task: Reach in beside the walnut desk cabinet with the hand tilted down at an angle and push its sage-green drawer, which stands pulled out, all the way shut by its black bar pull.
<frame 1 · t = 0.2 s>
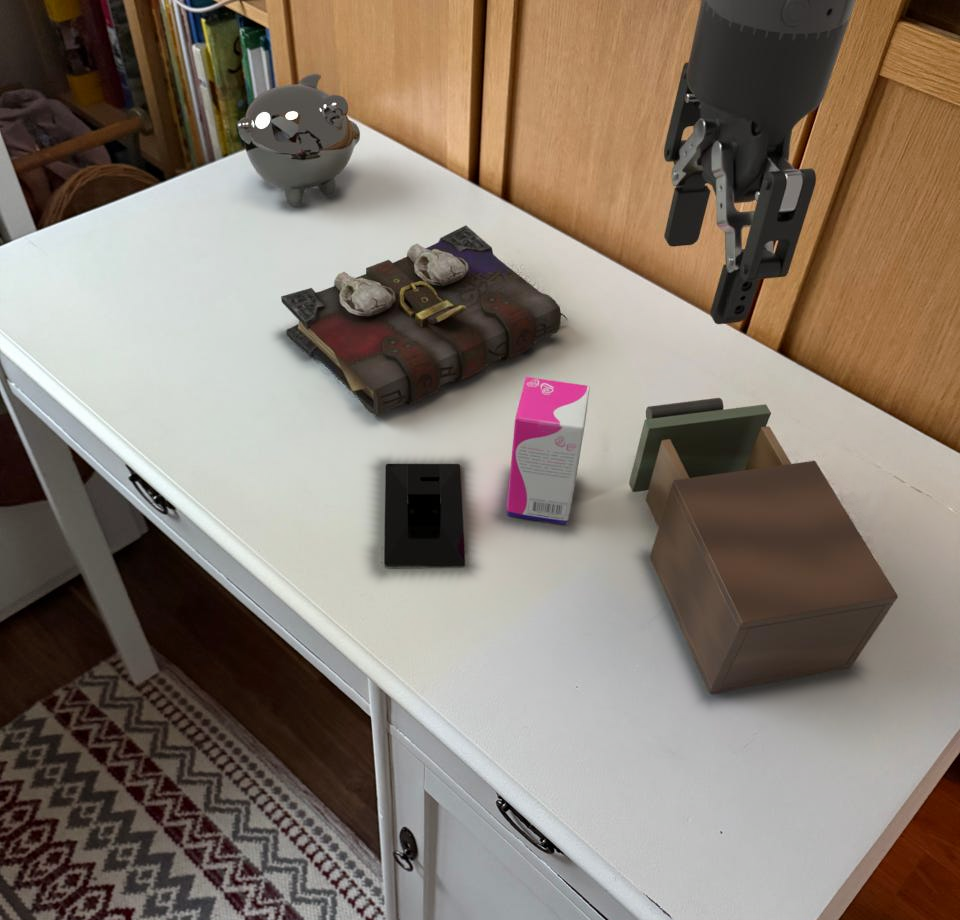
hand: (702, 279, 61), 28 cm above the table, tool pointing down, fingers open, 8 cm apart
drawer: (714, 480, 83), point 5 cm above the table, slide at 7.0 cm
black plastic holder: (423, 516, 85), on the table
book: (424, 338, 100), on the table
cabinet: (746, 610, 80), on the table
piggy bank: (305, 189, 116), on the table
supplement box: (540, 499, 87), on the table
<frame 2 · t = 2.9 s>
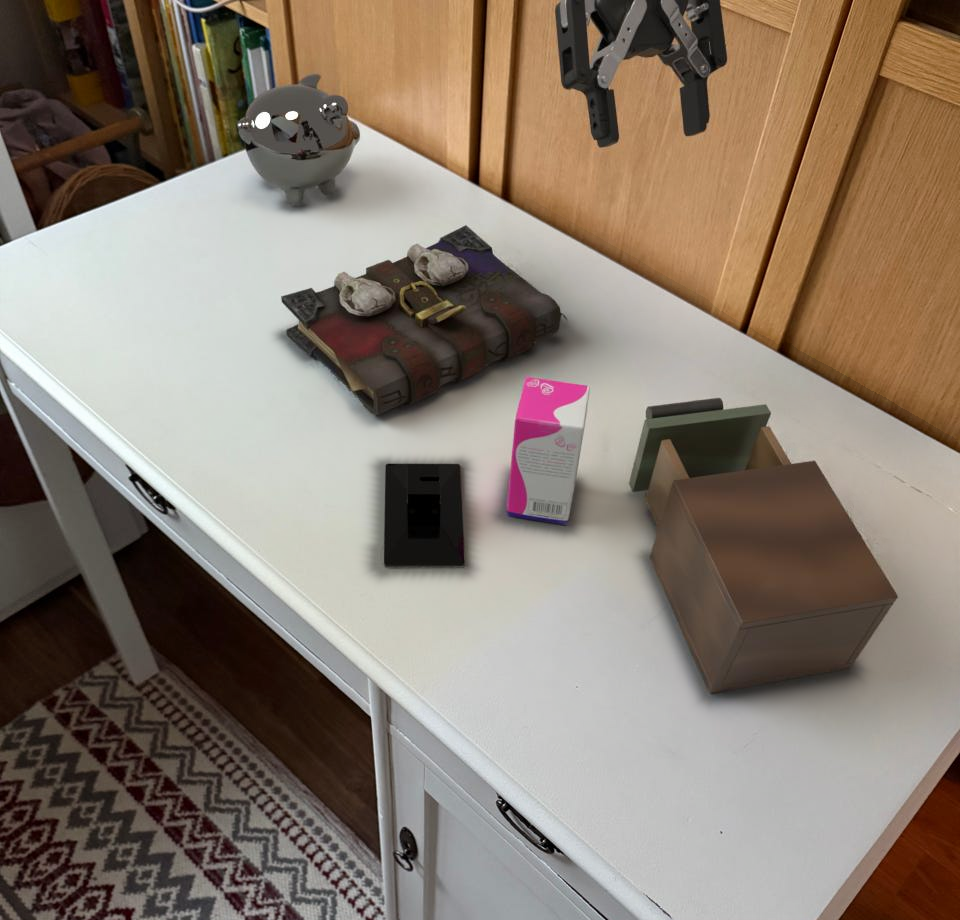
hand: (653, 139, 76), 25 cm above the table, tool tilted 35°, fingers open, 8 cm apart
nothing on the table moved.
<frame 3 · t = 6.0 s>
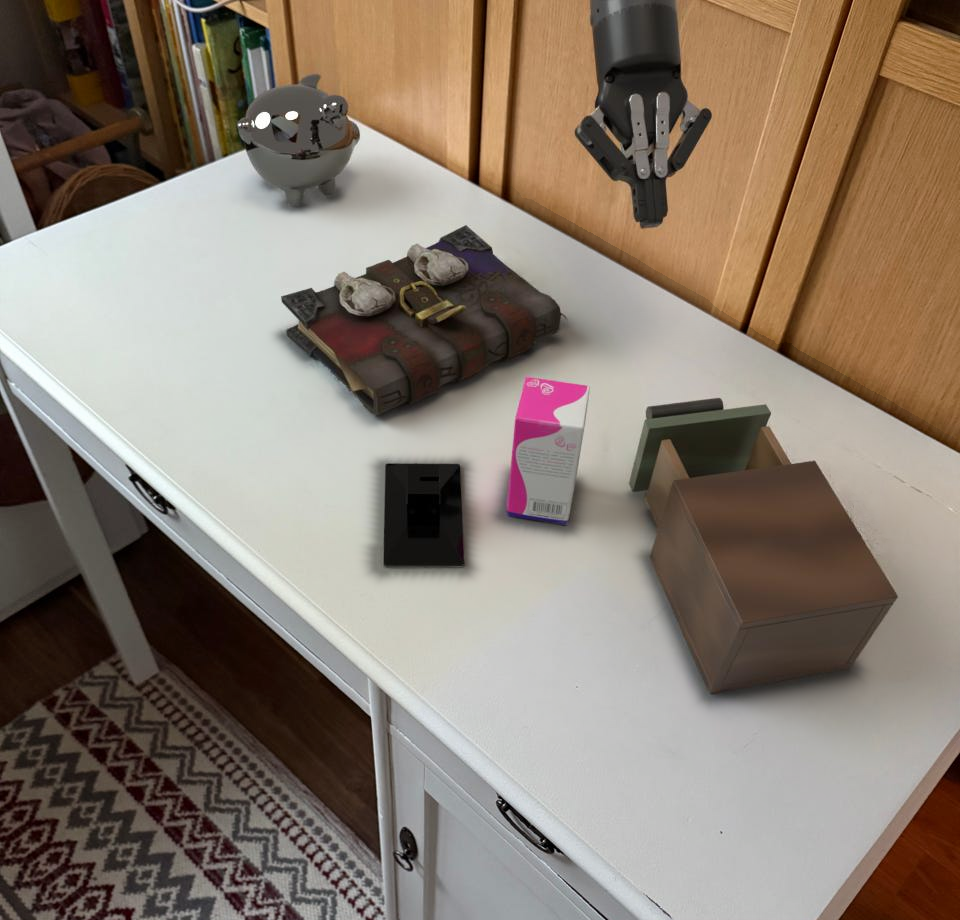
hand: (652, 225, 87), 15 cm above the table, tool tilted 45°, fingers closed
nothing on the table moved.
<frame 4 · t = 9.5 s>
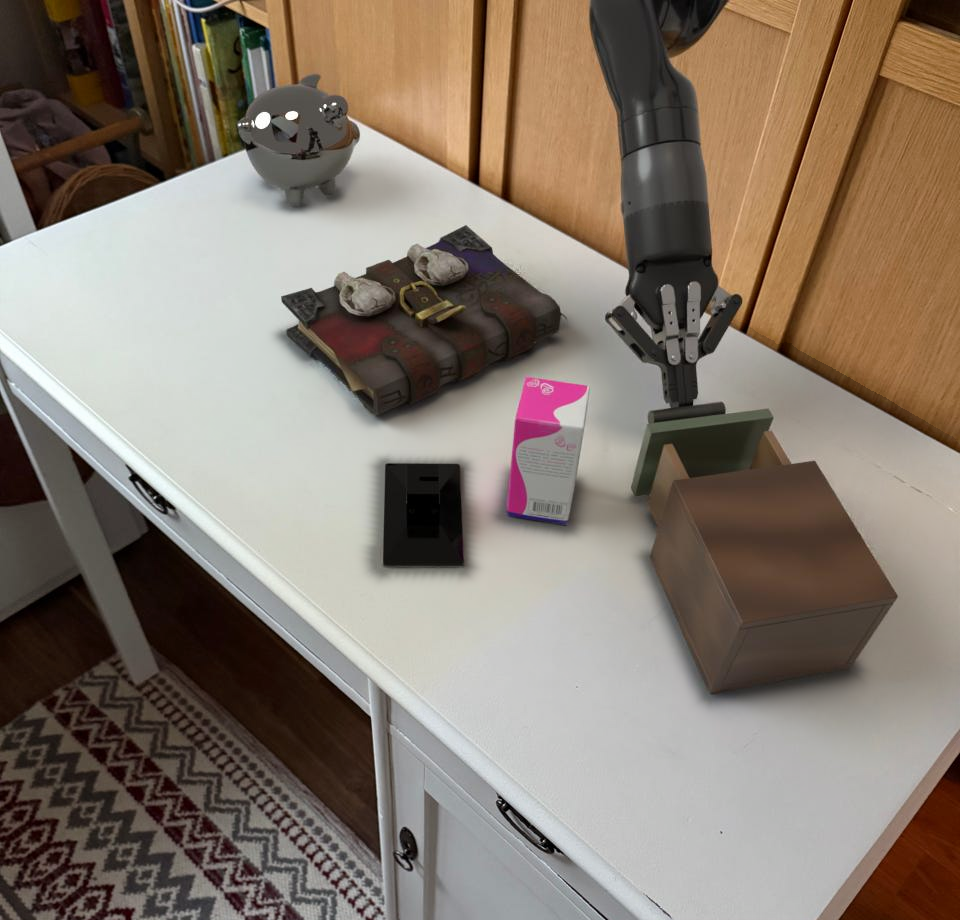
hand: (682, 407, 87), 6 cm above the table, tool tilted 45°, fingers closed
drawer: (716, 485, 82), point 5 cm above the table, slide at 6.4 cm, touching gripper
everything else where it was.
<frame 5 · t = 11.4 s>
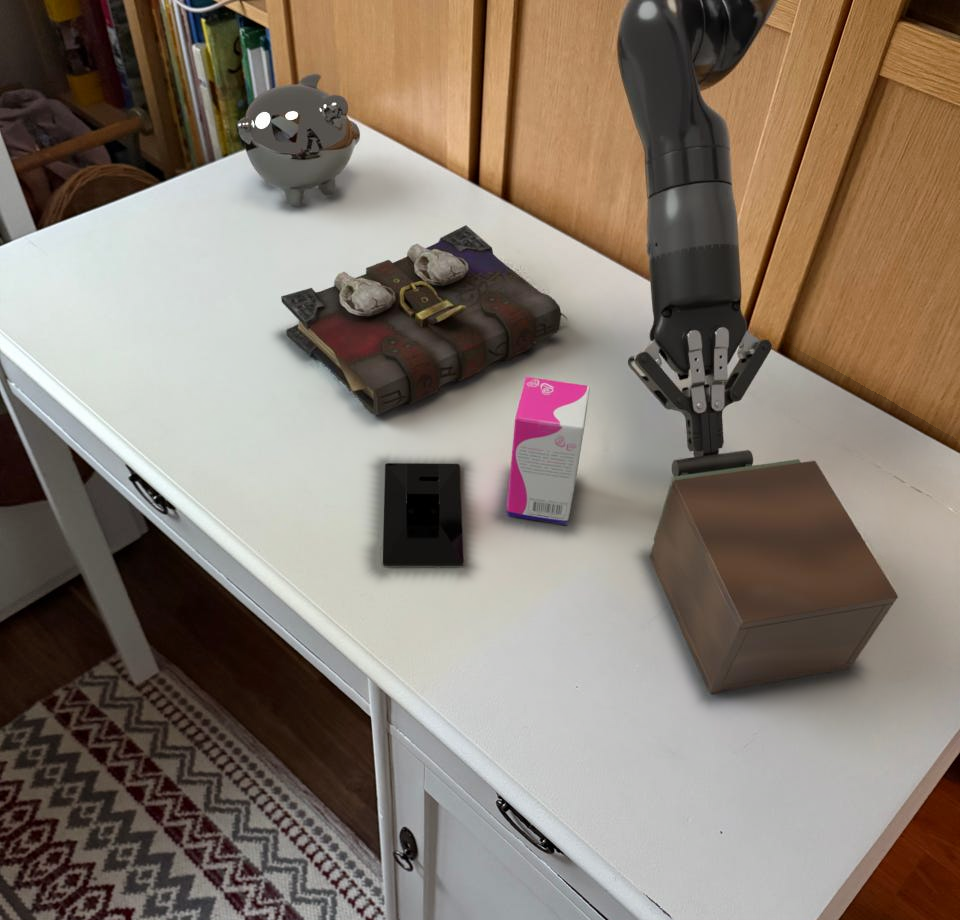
hand: (706, 456, 83), 5 cm above the table, tool tilted 45°, fingers closed
drawer: (744, 539, 79), point 5 cm above the table, slide at 0.0 cm, touching cabinet, gripper
everything else where it was.
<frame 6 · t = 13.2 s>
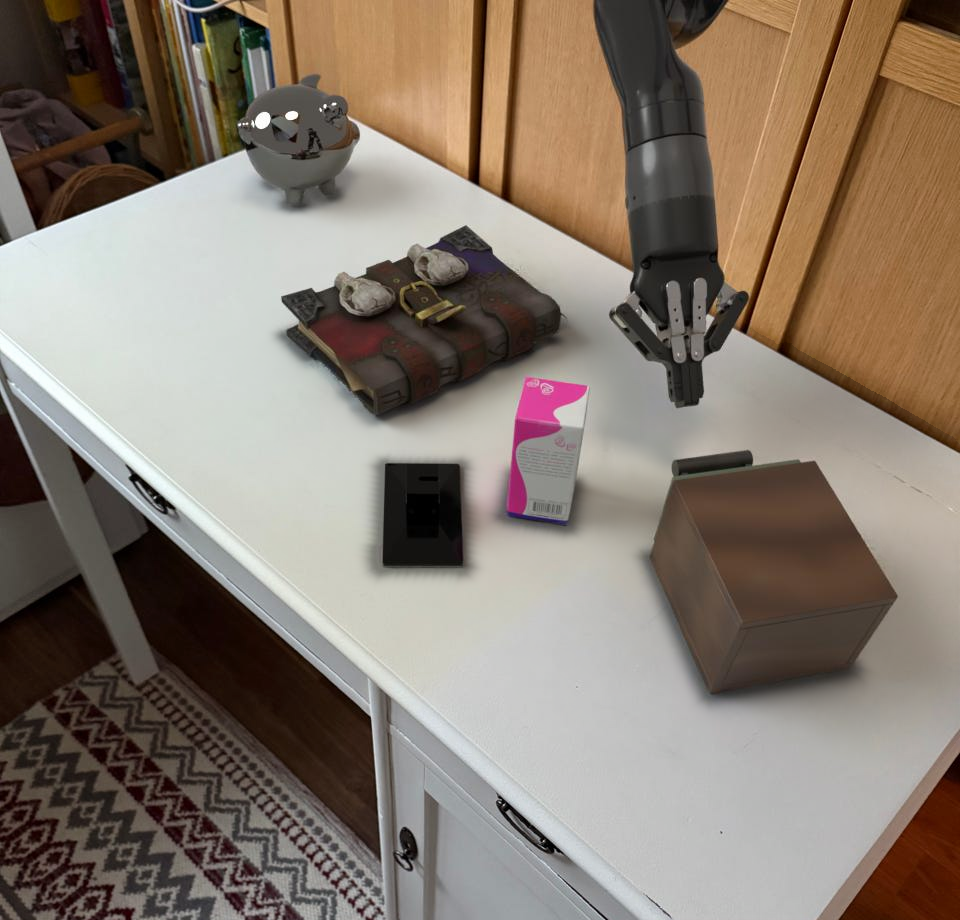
hand: (687, 406, 85), 7 cm above the table, tool tilted 45°, fingers closed
drawer: (744, 539, 79), point 5 cm above the table, slide at 0.0 cm
everything else where it was.
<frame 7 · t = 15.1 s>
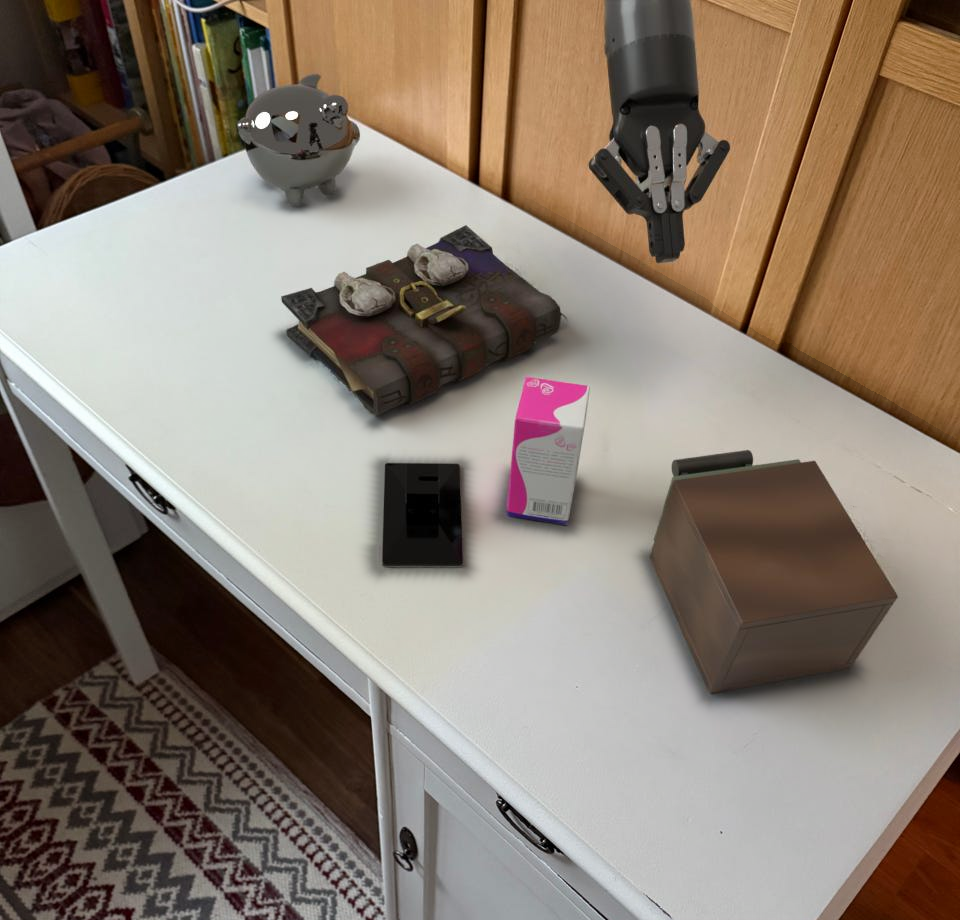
hand: (668, 260, 84), 15 cm above the table, tool tilted 45°, fingers closed
nothing on the table moved.
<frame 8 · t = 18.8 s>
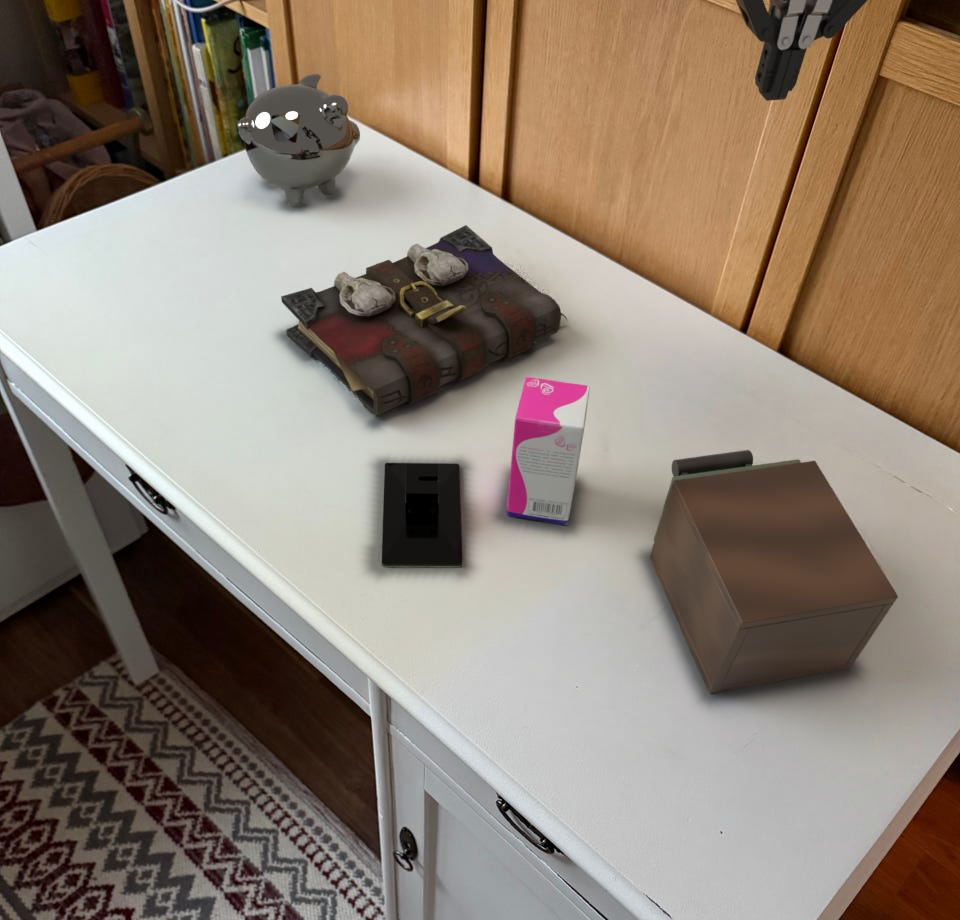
hand: (771, 95, 73), 29 cm above the table, tool pointing down, fingers closed
nothing on the table moved.
at the end: drawer slide at 0.0 cm; supplement box moved 0.2 cm from its start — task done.
